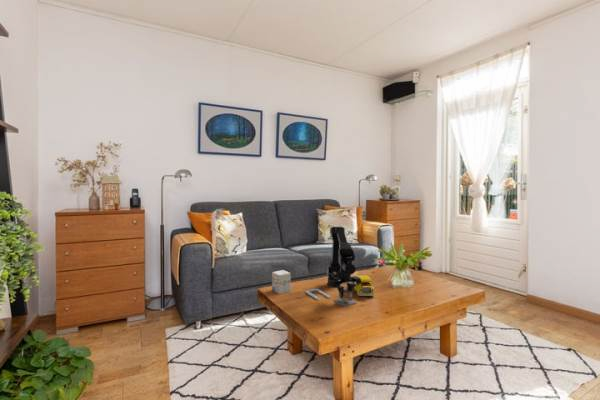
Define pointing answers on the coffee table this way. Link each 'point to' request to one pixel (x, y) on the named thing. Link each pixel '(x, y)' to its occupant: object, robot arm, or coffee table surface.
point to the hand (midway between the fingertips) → (344, 296)
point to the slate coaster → (344, 302)
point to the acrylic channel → (316, 292)
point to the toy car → (364, 287)
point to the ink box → (281, 281)
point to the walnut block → (346, 295)
